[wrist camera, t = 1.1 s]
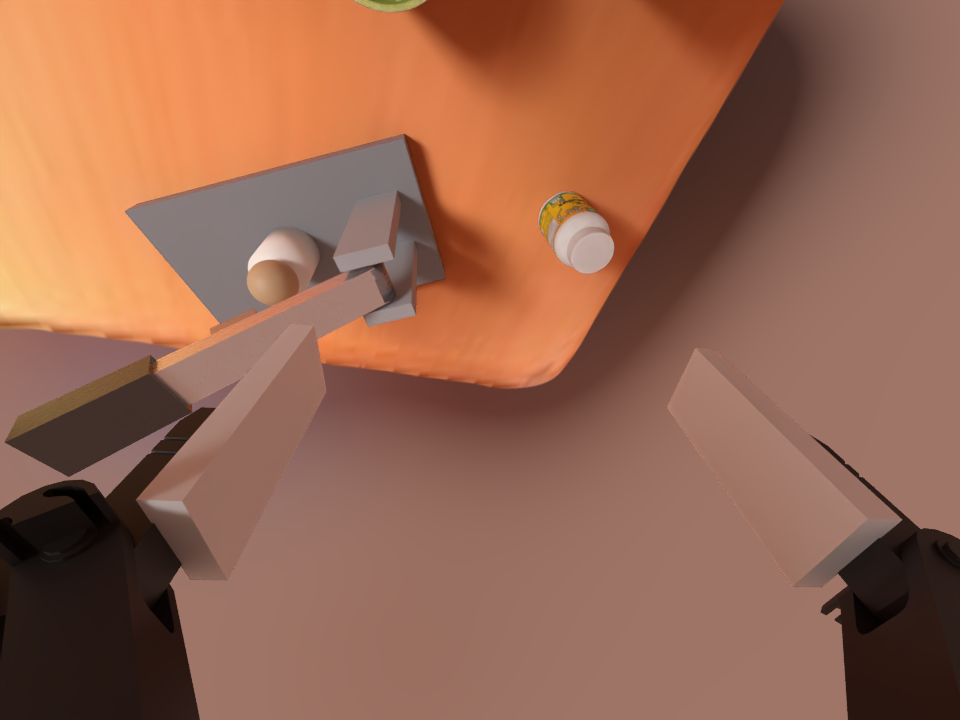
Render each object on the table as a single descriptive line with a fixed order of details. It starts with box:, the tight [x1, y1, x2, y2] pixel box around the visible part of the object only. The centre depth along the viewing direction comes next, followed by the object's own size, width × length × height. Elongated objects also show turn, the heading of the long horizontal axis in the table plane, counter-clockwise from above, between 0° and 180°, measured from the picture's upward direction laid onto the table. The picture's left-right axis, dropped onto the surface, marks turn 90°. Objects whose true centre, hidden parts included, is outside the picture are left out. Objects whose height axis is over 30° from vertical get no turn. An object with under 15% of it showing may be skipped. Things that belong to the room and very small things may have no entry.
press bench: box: [125, 134, 446, 327], centre depth 33 cm, size 14×26×14 cm, turn 102°
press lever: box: [5, 262, 396, 477], centre depth 25 cm, size 4×23×3 cm, turn 101°
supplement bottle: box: [538, 191, 615, 274], centre depth 36 cm, size 5×5×10 cm
